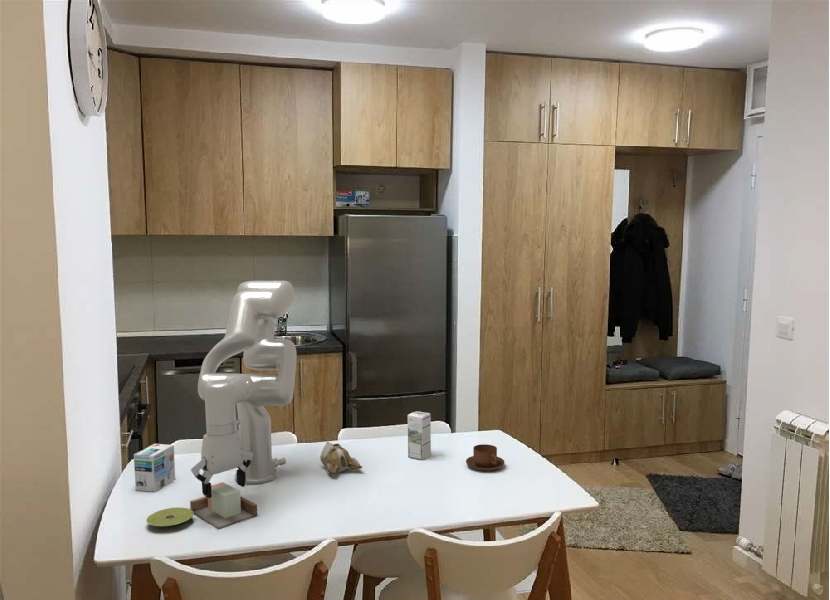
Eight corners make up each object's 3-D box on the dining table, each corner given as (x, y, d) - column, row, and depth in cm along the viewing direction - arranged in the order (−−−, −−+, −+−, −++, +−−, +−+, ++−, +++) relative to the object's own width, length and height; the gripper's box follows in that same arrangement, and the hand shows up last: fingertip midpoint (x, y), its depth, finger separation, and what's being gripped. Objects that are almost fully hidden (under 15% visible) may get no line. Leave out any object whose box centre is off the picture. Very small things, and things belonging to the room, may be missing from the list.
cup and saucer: (512, 466, 206) (512, 447, 205) (488, 476, 197) (488, 456, 197) (481, 458, 214) (481, 439, 213) (458, 467, 205) (458, 448, 205)
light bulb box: (155, 492, 187) (153, 455, 186) (134, 491, 188) (132, 454, 187) (176, 479, 198) (174, 444, 197) (156, 477, 199) (154, 443, 198)
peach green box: (240, 513, 171) (240, 490, 170) (225, 518, 168) (224, 495, 167) (223, 503, 177) (222, 482, 177) (208, 508, 174) (207, 486, 174)
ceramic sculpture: (342, 433, 212) (364, 448, 199) (342, 459, 213) (364, 475, 201) (311, 440, 206) (332, 455, 194) (311, 466, 207) (332, 483, 195)
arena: (228, 500, 181) (227, 489, 181) (257, 515, 170) (257, 504, 170) (190, 512, 173) (190, 501, 173) (218, 529, 163) (218, 517, 162)
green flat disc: (198, 513, 173) (197, 505, 172) (188, 531, 161) (188, 524, 161) (153, 515, 171) (153, 508, 171) (141, 534, 160) (140, 527, 160)
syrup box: (431, 455, 216) (431, 412, 215) (422, 460, 211) (421, 416, 210) (417, 452, 219) (416, 410, 218) (407, 457, 214) (406, 414, 213)
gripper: (243, 417, 179) (246, 477, 181) (183, 432, 167) (186, 496, 169) (258, 423, 174) (261, 485, 176) (197, 439, 162) (200, 505, 164)
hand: (224, 490), depth 173 cm, fingers open, 9 cm apart
